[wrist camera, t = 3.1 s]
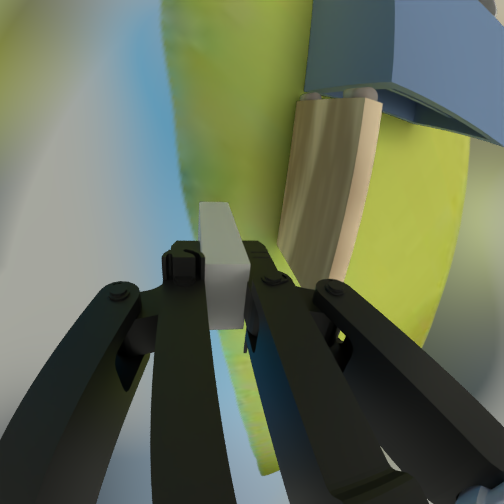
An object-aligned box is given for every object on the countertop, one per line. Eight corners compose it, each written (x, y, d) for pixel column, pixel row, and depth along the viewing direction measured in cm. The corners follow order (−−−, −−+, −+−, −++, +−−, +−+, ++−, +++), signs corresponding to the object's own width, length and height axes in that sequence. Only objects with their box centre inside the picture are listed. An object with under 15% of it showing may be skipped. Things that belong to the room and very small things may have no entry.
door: (310, 95, 21) (384, 90, 12) (287, 244, 28) (332, 314, 18) (297, 93, 21) (366, 84, 12) (276, 244, 28) (317, 315, 18)
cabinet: (314, -10, 16) (388, -64, 5) (420, 36, 19) (506, 30, 8) (303, 91, 22) (391, 81, 11) (413, 124, 25) (505, 147, 14)
